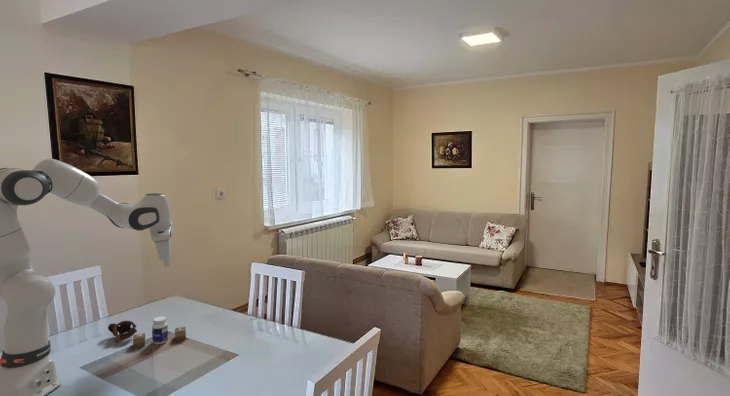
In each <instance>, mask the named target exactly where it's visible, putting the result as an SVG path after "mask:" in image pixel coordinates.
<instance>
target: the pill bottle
mask: <svg viewBox="0 0 730 396" xmlns="http://www.w3.org/2000/svg"><path fill="white" fill-rule="evenodd" d="M152 321H153V323H152V325H151V333H152V334H151V335H152V336H151V337H152V343H153V344H154V345H162V344H165V343H166V342H168V340H169V333H168V332H169V330H168V329H169V328H168V327H169V326H168V322H166V321H167V316H163V315H162V316H161V315H160V316H156V317H154V318H153V320H152Z"/></svg>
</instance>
